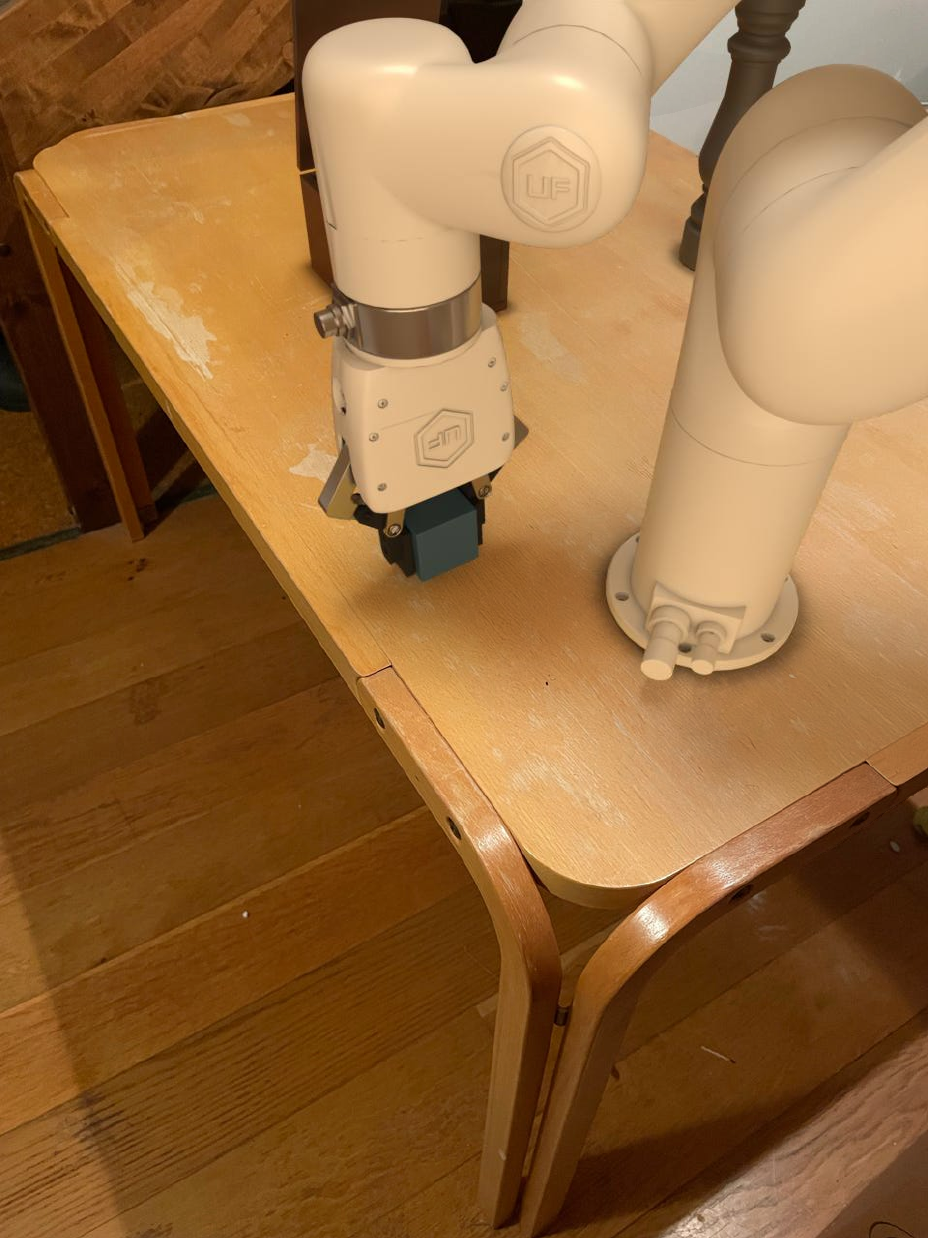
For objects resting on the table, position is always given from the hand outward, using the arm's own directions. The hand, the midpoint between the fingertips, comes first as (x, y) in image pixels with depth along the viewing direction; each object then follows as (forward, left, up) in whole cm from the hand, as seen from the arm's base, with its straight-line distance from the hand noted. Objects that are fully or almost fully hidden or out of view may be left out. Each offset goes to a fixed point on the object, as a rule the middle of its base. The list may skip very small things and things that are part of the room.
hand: (434, 546), depth 61 cm
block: (0, 0, 0) cm, 0 cm away
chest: (+33, +16, -2) cm, 37 cm away
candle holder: (+49, -10, -2) cm, 50 cm away
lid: (+36, +20, +15) cm, 44 cm away
